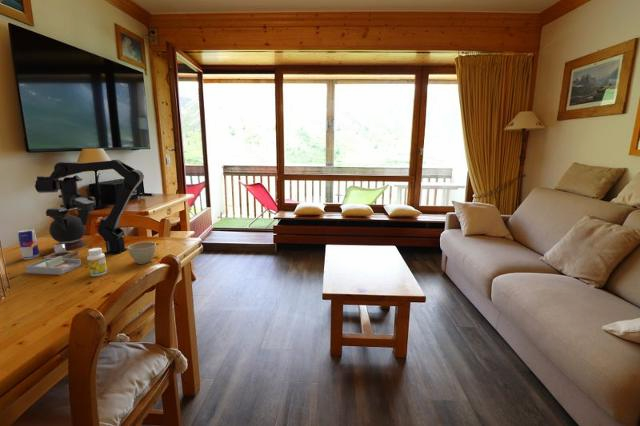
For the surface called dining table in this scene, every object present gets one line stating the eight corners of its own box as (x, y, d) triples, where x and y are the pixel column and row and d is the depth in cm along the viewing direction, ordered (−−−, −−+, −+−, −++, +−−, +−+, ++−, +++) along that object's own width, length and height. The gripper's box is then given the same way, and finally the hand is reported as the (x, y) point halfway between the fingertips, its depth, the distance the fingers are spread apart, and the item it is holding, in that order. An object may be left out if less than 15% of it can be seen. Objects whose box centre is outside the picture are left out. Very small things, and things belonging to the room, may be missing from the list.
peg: (69, 256, 130) (66, 243, 128) (61, 259, 126) (59, 246, 125) (61, 255, 130) (59, 243, 129) (53, 258, 127) (51, 245, 125)
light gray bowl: (161, 261, 127) (159, 245, 126) (134, 268, 120) (132, 251, 119) (152, 255, 134) (150, 240, 132) (126, 261, 127) (124, 245, 125)
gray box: (81, 265, 123) (80, 259, 122) (60, 274, 114) (59, 268, 113) (49, 263, 124) (48, 257, 124) (26, 273, 115) (24, 266, 115)
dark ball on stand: (76, 240, 153) (71, 211, 150) (95, 243, 149) (90, 213, 145) (45, 249, 141) (39, 217, 138) (65, 252, 137) (59, 220, 133)
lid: (65, 262, 122) (64, 256, 121) (48, 269, 115) (47, 262, 115) (49, 261, 123) (48, 255, 122) (32, 268, 116) (30, 261, 115)
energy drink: (29, 260, 127) (23, 232, 125) (19, 259, 129) (13, 231, 126) (43, 255, 133) (37, 229, 130) (33, 254, 134) (27, 228, 131)
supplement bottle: (110, 271, 117) (107, 247, 115) (97, 277, 112) (93, 252, 110) (100, 269, 119) (96, 246, 116) (86, 275, 114) (82, 250, 111)
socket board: (78, 256, 132) (77, 251, 131) (61, 263, 124) (60, 258, 123) (61, 256, 132) (60, 250, 132) (43, 263, 125) (42, 257, 124)
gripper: (67, 196, 119) (74, 234, 122) (104, 189, 137) (109, 223, 141) (41, 195, 120) (48, 233, 123) (81, 188, 138) (87, 222, 142)
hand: (75, 227), depth 132 cm, fingers open, 9 cm apart
